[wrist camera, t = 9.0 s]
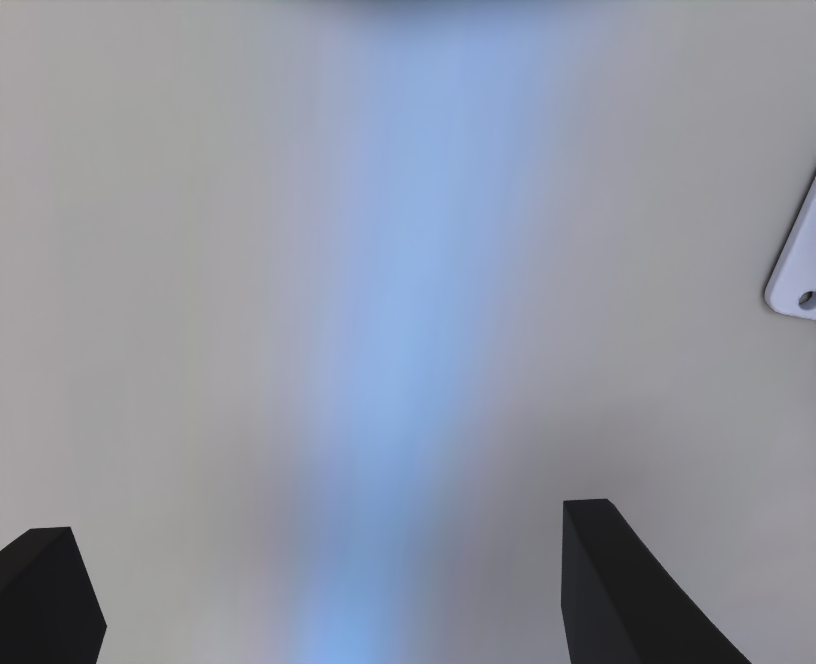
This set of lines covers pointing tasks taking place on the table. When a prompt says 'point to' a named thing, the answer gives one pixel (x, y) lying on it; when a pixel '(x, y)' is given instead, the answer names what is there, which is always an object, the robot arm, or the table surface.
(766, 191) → the table surface
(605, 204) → the table surface
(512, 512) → the table surface
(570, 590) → the robot arm
